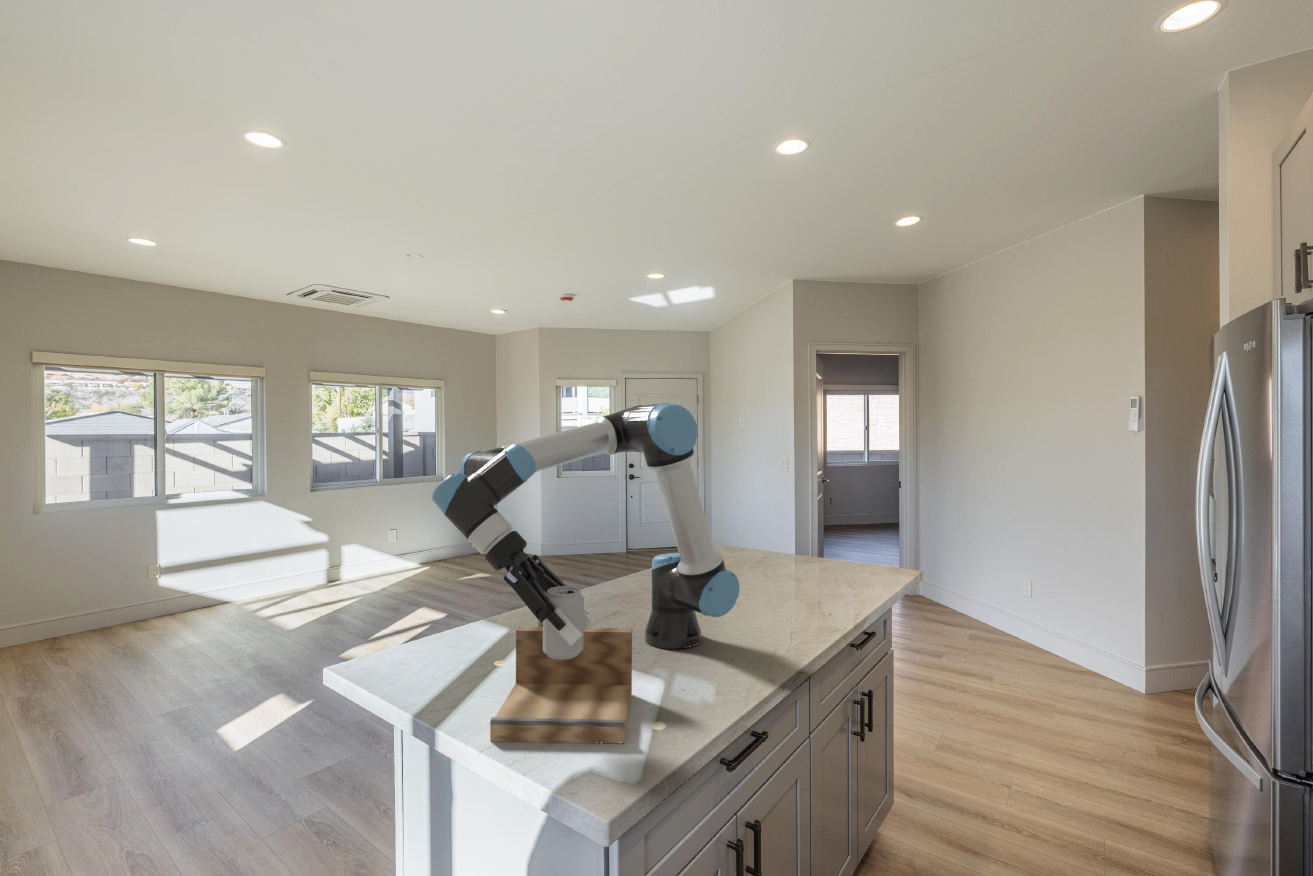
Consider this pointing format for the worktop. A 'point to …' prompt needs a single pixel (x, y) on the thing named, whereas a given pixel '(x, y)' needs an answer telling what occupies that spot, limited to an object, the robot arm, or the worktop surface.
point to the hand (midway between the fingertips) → (581, 632)
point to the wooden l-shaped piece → (569, 691)
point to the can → (573, 609)
